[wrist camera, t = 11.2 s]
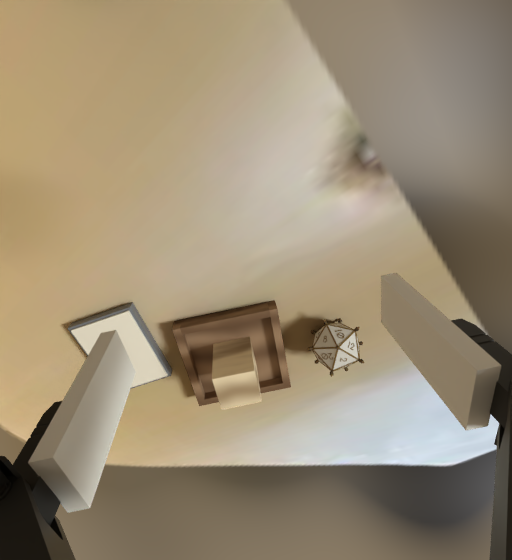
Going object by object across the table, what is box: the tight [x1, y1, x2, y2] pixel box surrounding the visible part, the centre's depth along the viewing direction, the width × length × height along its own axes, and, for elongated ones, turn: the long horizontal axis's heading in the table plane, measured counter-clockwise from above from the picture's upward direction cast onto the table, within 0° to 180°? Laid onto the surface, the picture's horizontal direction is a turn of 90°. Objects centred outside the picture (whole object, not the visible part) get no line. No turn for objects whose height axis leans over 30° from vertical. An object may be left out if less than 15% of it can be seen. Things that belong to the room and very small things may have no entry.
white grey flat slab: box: [67, 302, 172, 389], centre depth 51 cm, size 14×10×2 cm
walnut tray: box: [172, 301, 291, 406], centre depth 53 cm, size 16×16×2 cm
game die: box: [307, 318, 364, 376], centre depth 51 cm, size 9×8×10 cm
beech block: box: [212, 337, 262, 410], centre depth 50 cm, size 6×6×8 cm
